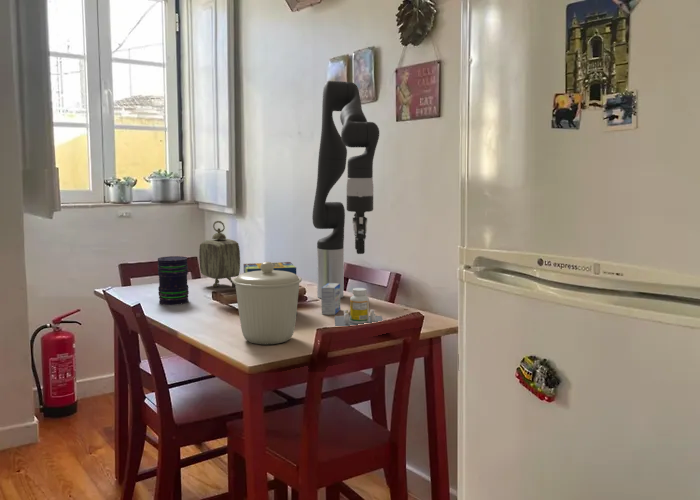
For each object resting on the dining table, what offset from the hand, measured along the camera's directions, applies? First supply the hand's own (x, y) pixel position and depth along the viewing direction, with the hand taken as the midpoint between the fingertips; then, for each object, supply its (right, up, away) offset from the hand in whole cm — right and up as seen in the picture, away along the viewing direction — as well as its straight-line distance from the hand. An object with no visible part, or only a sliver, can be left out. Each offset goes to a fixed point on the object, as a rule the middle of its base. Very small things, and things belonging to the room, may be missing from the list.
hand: (359, 251), depth 191 cm
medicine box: (-9, -19, +22) cm, 31 cm away
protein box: (-28, -20, +20) cm, 39 cm away
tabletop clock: (-52, -14, +65) cm, 85 cm away
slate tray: (0, -22, +3) cm, 22 cm away
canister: (-24, -24, -11) cm, 36 cm away
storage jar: (-62, -17, +37) cm, 75 cm away
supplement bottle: (0, -20, +3) cm, 21 cm away
